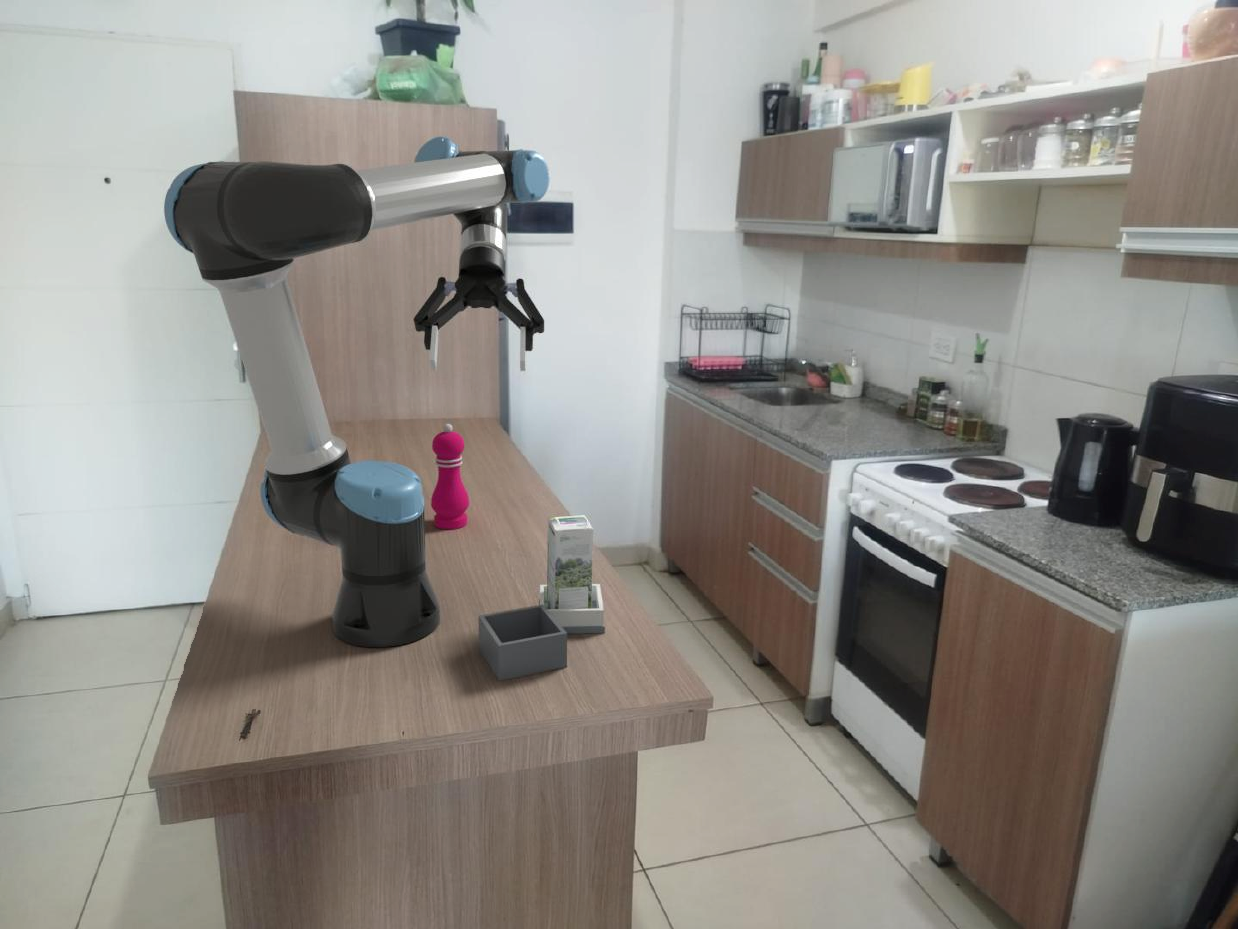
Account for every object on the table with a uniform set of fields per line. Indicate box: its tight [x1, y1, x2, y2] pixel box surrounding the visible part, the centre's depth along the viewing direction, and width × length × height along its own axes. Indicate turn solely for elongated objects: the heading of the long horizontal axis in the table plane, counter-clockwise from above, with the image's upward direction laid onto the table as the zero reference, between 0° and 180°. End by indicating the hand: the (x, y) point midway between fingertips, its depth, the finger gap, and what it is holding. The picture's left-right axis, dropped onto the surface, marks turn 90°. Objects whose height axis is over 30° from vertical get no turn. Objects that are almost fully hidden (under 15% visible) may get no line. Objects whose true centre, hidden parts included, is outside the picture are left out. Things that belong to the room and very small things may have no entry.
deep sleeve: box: [478, 604, 568, 682], centre depth 117 cm, size 9×9×5 cm
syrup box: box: [546, 514, 594, 609], centre depth 127 cm, size 6×6×14 cm
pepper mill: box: [430, 423, 470, 530], centre depth 164 cm, size 7×7×20 cm
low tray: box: [538, 583, 606, 634], centre depth 129 cm, size 10×10×4 cm
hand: (478, 365), depth 132 cm, fingers open, 13 cm apart
